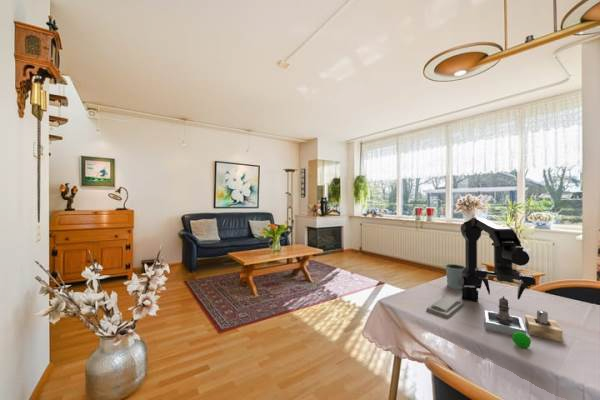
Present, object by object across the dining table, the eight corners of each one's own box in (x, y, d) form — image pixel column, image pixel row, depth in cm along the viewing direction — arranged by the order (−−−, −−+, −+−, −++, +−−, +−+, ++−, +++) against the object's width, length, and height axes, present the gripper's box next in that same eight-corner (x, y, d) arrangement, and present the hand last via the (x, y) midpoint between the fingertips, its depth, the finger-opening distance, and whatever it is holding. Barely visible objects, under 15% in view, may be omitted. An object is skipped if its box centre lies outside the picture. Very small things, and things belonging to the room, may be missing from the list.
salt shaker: (503, 329, 98) (502, 299, 98) (491, 321, 104) (490, 293, 103) (517, 328, 98) (517, 298, 98) (505, 321, 104) (504, 293, 103)
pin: (537, 332, 96) (537, 312, 96) (536, 329, 98) (536, 309, 98) (548, 335, 94) (548, 314, 94) (546, 331, 96) (546, 311, 96)
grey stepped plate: (465, 306, 120) (465, 299, 120) (449, 320, 108) (449, 312, 108) (442, 300, 128) (442, 293, 128) (425, 311, 116) (425, 304, 116)
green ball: (521, 342, 90) (521, 329, 90) (535, 350, 85) (535, 336, 85) (508, 342, 90) (508, 329, 90) (521, 351, 85) (521, 337, 85)
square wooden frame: (529, 334, 95) (529, 323, 95) (525, 324, 102) (525, 314, 102) (562, 341, 90) (562, 331, 90) (555, 330, 97) (555, 320, 97)
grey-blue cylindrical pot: (450, 289, 141) (449, 268, 141) (442, 283, 151) (442, 263, 151) (469, 290, 139) (469, 269, 139) (460, 283, 149) (460, 264, 149)
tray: (485, 329, 99) (485, 321, 99) (484, 316, 109) (484, 310, 109) (525, 338, 92) (525, 330, 92) (521, 324, 102) (521, 317, 102)
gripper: (474, 260, 99) (475, 298, 99) (538, 267, 88) (539, 310, 88) (475, 254, 108) (475, 289, 108) (532, 260, 97) (533, 299, 97)
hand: (503, 296), depth 100 cm, fingers open, 9 cm apart
